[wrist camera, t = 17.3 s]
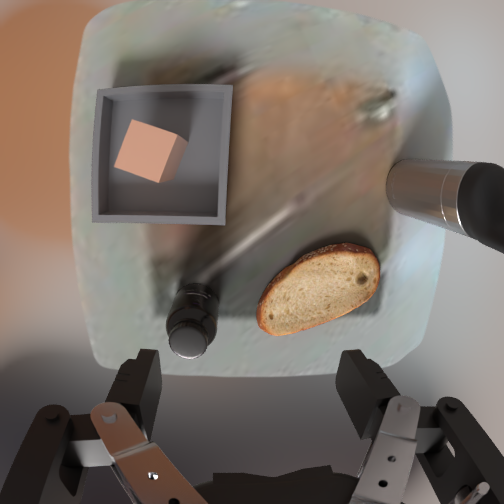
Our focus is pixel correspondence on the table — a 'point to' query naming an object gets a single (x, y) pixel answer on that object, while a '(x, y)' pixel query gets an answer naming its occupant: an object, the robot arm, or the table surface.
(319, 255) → the slice of bread
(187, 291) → the supplement bottle
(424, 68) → the table surface
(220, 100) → the charcoal bin
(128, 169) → the salmon pink block
